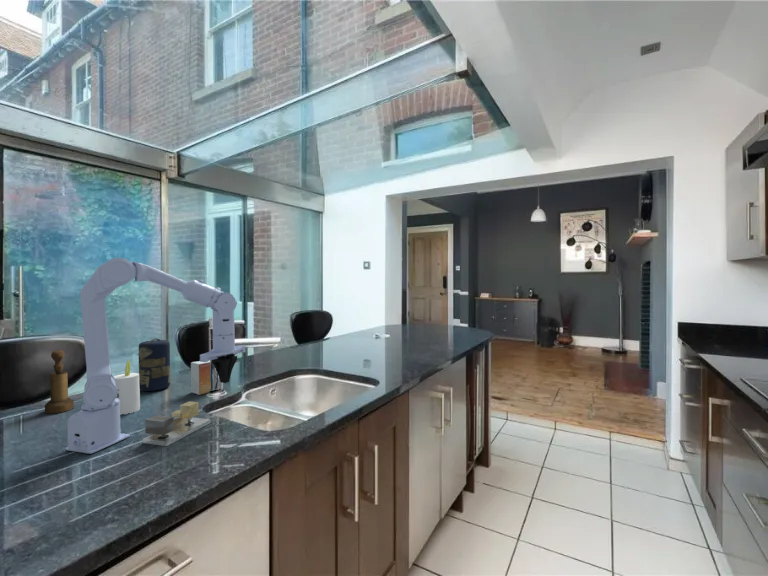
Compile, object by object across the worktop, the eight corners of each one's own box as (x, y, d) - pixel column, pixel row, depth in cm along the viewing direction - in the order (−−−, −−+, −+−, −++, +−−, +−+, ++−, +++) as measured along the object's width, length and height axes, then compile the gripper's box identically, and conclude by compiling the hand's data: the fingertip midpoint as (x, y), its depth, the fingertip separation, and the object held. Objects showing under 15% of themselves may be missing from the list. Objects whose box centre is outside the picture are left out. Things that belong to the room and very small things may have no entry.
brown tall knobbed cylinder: (79, 406, 113) (77, 348, 112) (59, 414, 106) (57, 352, 106) (60, 405, 114) (58, 348, 113) (38, 413, 107) (36, 352, 107)
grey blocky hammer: (163, 440, 86) (163, 421, 86) (145, 438, 87) (144, 419, 87) (202, 420, 98) (202, 403, 98) (186, 418, 99) (186, 402, 99)
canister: (132, 391, 127) (131, 340, 127) (156, 384, 137) (155, 336, 136) (153, 393, 125) (152, 341, 124) (177, 386, 134) (175, 336, 133)
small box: (198, 395, 122) (198, 364, 122) (190, 392, 126) (190, 362, 126) (221, 389, 129) (221, 359, 129) (213, 386, 132) (213, 357, 132)
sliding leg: (190, 425, 94) (189, 406, 93) (171, 423, 95) (171, 404, 95) (198, 420, 96) (198, 402, 96) (181, 418, 98) (180, 400, 98)
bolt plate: (167, 446, 85) (166, 441, 85) (143, 442, 87) (142, 438, 87) (210, 423, 98) (210, 419, 98) (188, 420, 100) (188, 416, 100)
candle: (107, 414, 106) (106, 362, 106) (128, 406, 112) (127, 357, 112) (125, 415, 104) (123, 363, 104) (145, 408, 111) (143, 358, 110)
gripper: (232, 330, 112) (233, 374, 112) (191, 337, 99) (192, 387, 99) (250, 331, 109) (251, 376, 109) (210, 338, 96) (211, 390, 96)
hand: (224, 382), depth 104 cm, fingers closed
